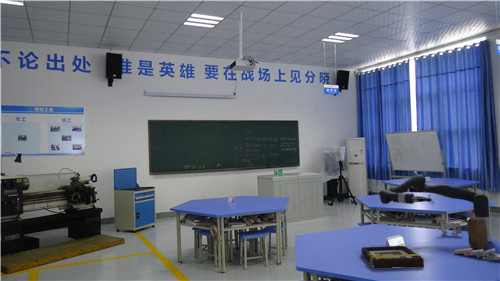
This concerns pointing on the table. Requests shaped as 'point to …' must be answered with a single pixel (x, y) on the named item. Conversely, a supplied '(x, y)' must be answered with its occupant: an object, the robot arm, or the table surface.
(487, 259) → the domino
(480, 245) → the block
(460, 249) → the domino
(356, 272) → the table surface
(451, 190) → the robot arm
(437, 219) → the unicorn figurine
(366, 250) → the picture frame
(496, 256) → the domino
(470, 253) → the domino
